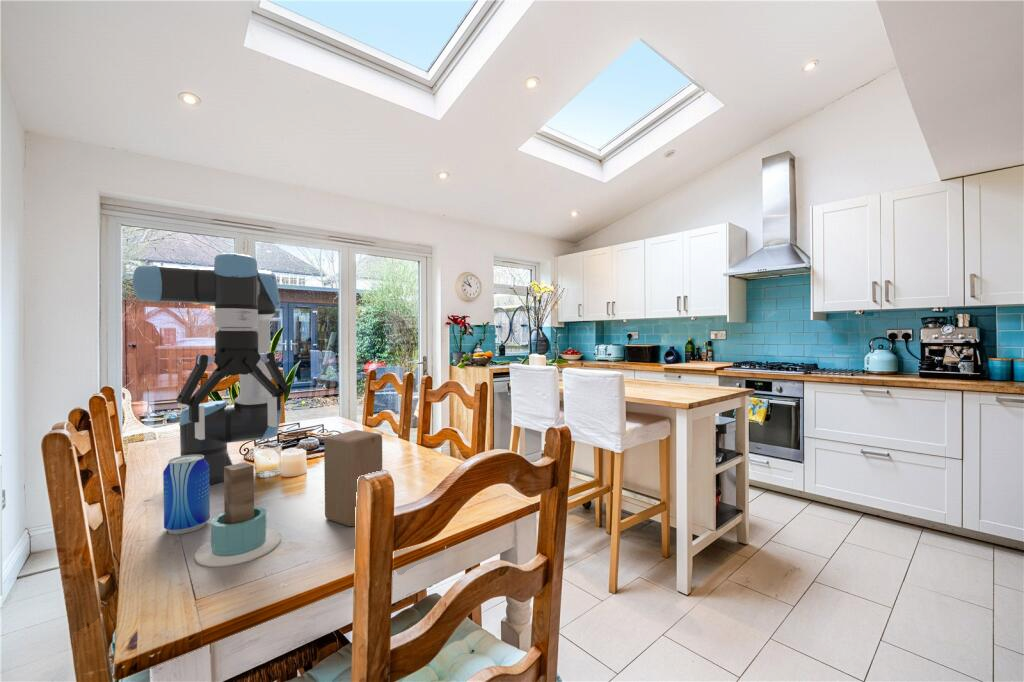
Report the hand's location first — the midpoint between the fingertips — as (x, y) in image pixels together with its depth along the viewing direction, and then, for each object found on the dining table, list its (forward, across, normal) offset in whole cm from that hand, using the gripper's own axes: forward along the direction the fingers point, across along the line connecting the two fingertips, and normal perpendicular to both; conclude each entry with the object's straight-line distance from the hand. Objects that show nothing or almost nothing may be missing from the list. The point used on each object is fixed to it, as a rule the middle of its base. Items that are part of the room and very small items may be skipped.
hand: (238, 432), depth 89 cm
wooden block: (+24, +23, -6) cm, 34 cm away
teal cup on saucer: (+24, 0, 0) cm, 24 cm away
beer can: (+24, -3, +20) cm, 32 cm away
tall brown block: (+22, 0, 0) cm, 22 cm away
